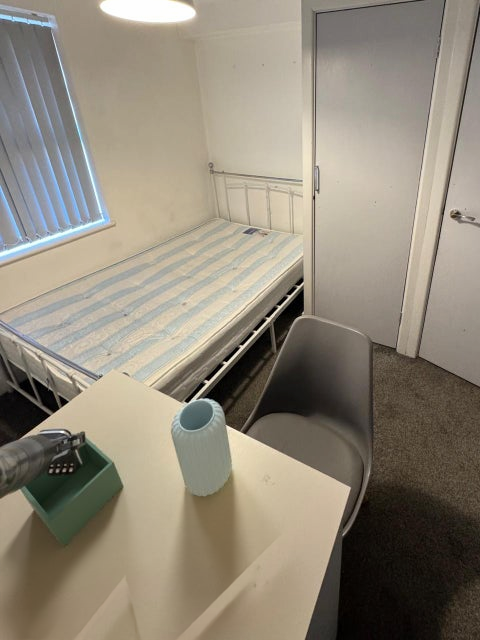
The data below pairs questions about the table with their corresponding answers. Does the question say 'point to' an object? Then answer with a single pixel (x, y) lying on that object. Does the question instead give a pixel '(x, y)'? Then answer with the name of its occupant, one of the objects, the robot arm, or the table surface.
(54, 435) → the battery charger
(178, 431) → the vase
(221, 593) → the table surface
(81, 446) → the robot arm
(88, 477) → the bin
